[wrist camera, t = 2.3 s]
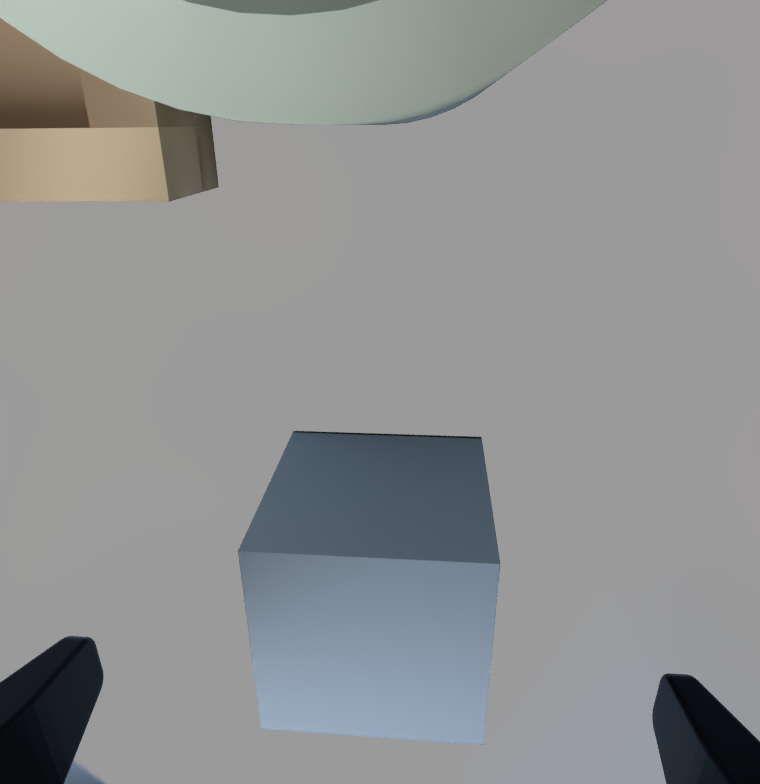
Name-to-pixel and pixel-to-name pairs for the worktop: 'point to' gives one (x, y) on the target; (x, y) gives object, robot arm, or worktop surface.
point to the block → (374, 587)
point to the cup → (298, 52)
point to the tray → (91, 135)
